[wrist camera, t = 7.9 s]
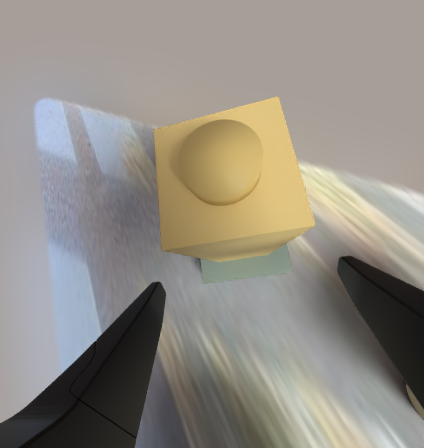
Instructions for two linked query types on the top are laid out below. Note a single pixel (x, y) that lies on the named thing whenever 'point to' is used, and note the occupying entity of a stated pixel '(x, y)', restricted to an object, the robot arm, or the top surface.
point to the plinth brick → (247, 267)
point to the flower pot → (415, 402)
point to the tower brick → (230, 184)
